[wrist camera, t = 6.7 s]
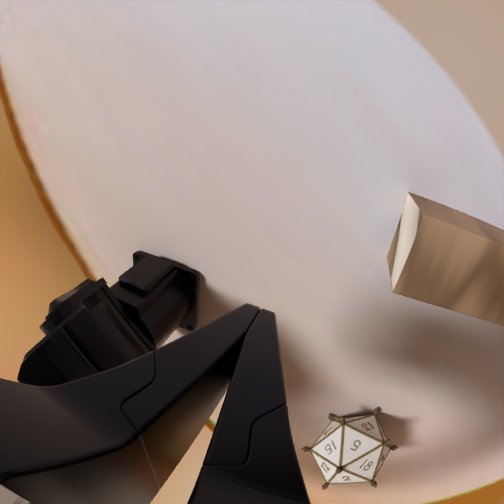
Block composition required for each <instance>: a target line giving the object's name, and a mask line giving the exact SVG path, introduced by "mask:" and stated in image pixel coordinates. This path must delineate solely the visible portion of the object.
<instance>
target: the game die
mask: <svg viewBox="0 0 504 504" xmlns="http://www.w3.org/2000/svg"><path fill="white" fill-rule="evenodd" d="M373 412H374V413H373V414H370V415H363V416H356V417H348V418H343V417H341V418H339V419H334V416H333V415H331V414H329V417H328V418H329V419H330V420H331V422H330V424H329V425H328V426H327V428H326V429H325V430H324V432H323V433H322V434H321V435H320V437H319V438H318V439H317V440H316V442H315V443H314V444H313V445H312V447H311V448H309V447H306V446H305V447H303V448H301V449H302V450H303V451H304V452H305V451H307V452H308V451H311V453H312V455H313V457H314V459H315V461H316V463H317V465H318V467H319V469H320V471H321V473H322V475H323V477H324V478H325V480H326V483H325V484H324V485H322V490H324V489H326V488H327V487H328V485H329V484H339V483H359V482H371V485H372V486H373V487H377V483H376V481H374V478H375V476H376V475H377V473H378V471H379V469H380V468H381V466H382V464H383V462H384V460H385V459H386V457H387V455H388V453H389V451H390V449H391V450H395V449H396V448H398V447H397V446H396V445H394V446H393V445H392V446H390V443H391V442H392V441H390V440H389V439H387V438H386V436H385V434H384V431H383V429H382V427H381V425H380V423H379V421H378V419H377V417H376V414H377V413H378V412H379V407H378V408H376V409H375V410H374V411H373Z"/></svg>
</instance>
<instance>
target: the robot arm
mask: <svg viewBox="0 0 504 504" xmlns="http://www.w3.org/2000/svg"><path fill="white" fill-rule="evenodd" d="M138 256H139V257H138ZM191 275H192V276H193V277H194V278H193V277H192V276H191ZM198 287H199V274H198V273H197V272H196V271H195V270H192V269H190V268H187V267H184V266H181V265H178V264H175V263H173V262H170V261H168V260H165V259H162V258H159V257H156V256H154V255H151V254H147V253H144V252H142V251H136V252H135V253H134V254H133V267H131V268H130V269H129V270H127V271H126V272H125V273H123V274H122V275H121V276H120V277H119V281H118V282H116V283H115V284H114V285H113V286H111V287H110V288H109V287H108V286H107V282H106V281H105V279H104V278H103V277H102V278H101V279H99V280H98V281H96V282H95V280H93V281H92V280H90V279H86V280H85V281H84V282H82V283H81V284H80V285H78V286H77V287H75V288H74V289H72V290H71V291H69V292H67V293H65V294H63V295H62V296H60V297H58V298H56V299H55V300H54V301H52V302H51V303H50V304H49V312H48V315H47V316H46V318H45V319H46V321H45V322H44V323H43V324H42V325H41V326H40V329H41V330H42V331H43V333H44V334H45V335H46V336H45V337H44V338H43V339H42V340H41V341H40V342H39V343H37V344H36V345H35V346H34V347H33V348H32V349H31V350H30V351H29V352H27V353H26V355H25V356H24V359H23V363H22V364H21V367H20V371H19V374H18V378H17V380H18V381H19V382H14V381H10V380H5V379H1V378H0V504H150V503H151V501H152V500H153V498H154V497H155V496H156V494H157V493H158V491H159V489H161V487H162V486H163V485H164V483H165V482H166V480H167V479H168V478H169V476H170V475H171V473H172V472H173V471H174V469H175V467H176V466H177V465H178V463H179V462H180V460H181V459H182V458H183V456H184V455H185V453H186V452H187V450H188V449H189V447H190V446H191V444H192V443H193V441H194V440H195V439H196V437H197V436H198V434H199V433H200V431H201V429H202V428H203V427H204V425H205V423H206V422H207V420H208V419H209V417H210V416H211V414H212V413H213V411H214V410H215V408H216V407H217V405H218V403H219V402H220V400H221V399H222V397H223V396H224V394H225V392H226V391H227V393H226V396H225V399H224V402H223V405H222V408H221V411H220V414H219V417H218V420H217V423H216V426H215V429H214V432H213V435H212V438H211V441H210V444H209V447H208V450H207V453H206V456H205V459H204V462H203V466H202V468H201V470H200V473H199V476H198V479H197V481H196V484H195V487H194V489H193V492H192V494H191V496H190V498H189V501H188V503H187V504H311V503H310V500H309V497H308V494H307V490H306V487H305V483H304V480H303V476H302V473H301V469H300V466H299V462H298V459H297V455H296V452H295V447H294V443H293V439H292V435H291V429H290V423H289V416H288V408H287V405H286V404H287V401H286V393H285V385H284V377H283V369H282V362H281V354H280V346H279V339H278V331H277V324H276V316H275V313H274V312H271V311H268V310H266V309H261V310H260V308H259V307H257V306H254V305H251V304H248V303H247V304H244V305H242V306H240V307H239V308H237V309H235V310H233V311H231V312H229V313H227V314H225V315H223V316H221V317H220V318H218V319H216V320H214V321H212V322H210V323H208V324H206V325H204V326H202V327H200V328H198V329H196V327H197V306H198ZM178 326H179V327H181V328H183V329H186V330H188V331H191V332H190V333H188V334H186V335H184V336H182V337H180V338H178V339H176V340H174V341H172V342H170V343H168V344H166V345H164V346H162V345H163V344H164V342H165V341H166V340H167V339H168V338H169V336H170V335H171V334H172V333H173V332H174V330H175V329H176V328H177V327H178ZM195 329H196V330H195ZM161 346H162V347H161ZM227 389H228V390H227Z"/></svg>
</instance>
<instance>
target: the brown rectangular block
mask: <svg viewBox="0 0 504 504" xmlns="http://www.w3.org/2000/svg"><path fill="white" fill-rule="evenodd" d="M387 260H388V265H389V272H390V278H391V285H392V292H393V293H396V294H399V295H402V296H406V297H409V298H413V299H416V300H419V301H423V302H426V303H429V304H433V305H436V306H439V307H443V308H446V309H449V310H453V311H456V312H459V313H463V314H466V315H469V316H473V317H476V318H479V319H483V320H486V321H489V322H493V323H496V324H499V325H503V326H504V230H502V229H500V228H497V227H495V226H493V225H491V224H489V223H486V222H484V221H482V220H479V219H477V218H475V217H472V216H470V215H468V214H465V213H463V212H460V211H458V210H455V209H453V208H450V207H448V206H445V205H442V204H440V203H437V202H434V201H432V200H429V199H426V198H424V197H421V196H418V195H415V194H412V193H408V196H407V200H406V203H405V206H404V209H403V212H402V215H401V218H400V221H399V224H398V227H397V230H396V233H395V236H394V239H393V241H392V244H391V247H390V250H389V252H388V255H387Z"/></svg>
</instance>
